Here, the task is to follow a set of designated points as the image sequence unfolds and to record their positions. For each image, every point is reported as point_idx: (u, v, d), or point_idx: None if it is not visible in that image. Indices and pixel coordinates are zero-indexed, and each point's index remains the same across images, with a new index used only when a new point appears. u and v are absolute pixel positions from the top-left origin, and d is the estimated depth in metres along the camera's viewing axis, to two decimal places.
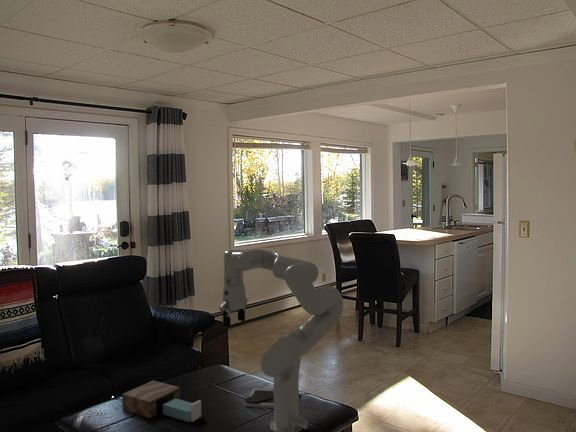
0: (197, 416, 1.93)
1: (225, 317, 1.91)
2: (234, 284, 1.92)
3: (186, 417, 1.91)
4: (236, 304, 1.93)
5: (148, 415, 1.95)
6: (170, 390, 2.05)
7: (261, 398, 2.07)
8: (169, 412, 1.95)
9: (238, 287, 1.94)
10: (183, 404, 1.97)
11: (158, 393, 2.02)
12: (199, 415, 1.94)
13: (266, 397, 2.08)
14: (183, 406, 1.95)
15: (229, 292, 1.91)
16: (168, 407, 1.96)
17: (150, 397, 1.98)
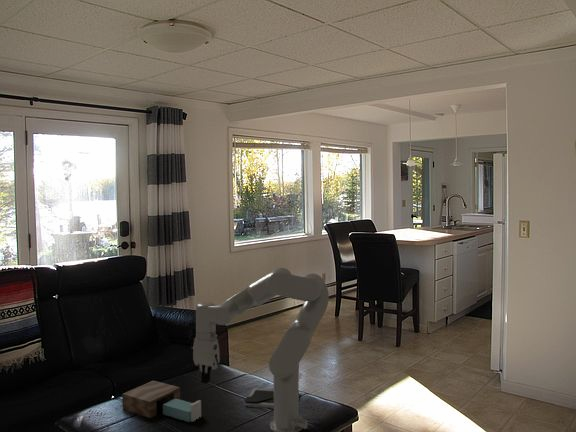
0: (197, 416, 1.93)
1: (209, 373, 1.88)
2: None
3: (186, 417, 1.91)
4: None
5: (148, 415, 1.95)
6: (170, 390, 2.05)
7: (261, 398, 2.07)
8: (169, 412, 1.95)
9: None
10: (183, 404, 1.97)
11: (158, 393, 2.02)
12: (199, 415, 1.94)
13: (266, 397, 2.08)
14: (183, 406, 1.95)
15: (217, 345, 1.87)
16: (168, 407, 1.96)
17: (150, 397, 1.98)
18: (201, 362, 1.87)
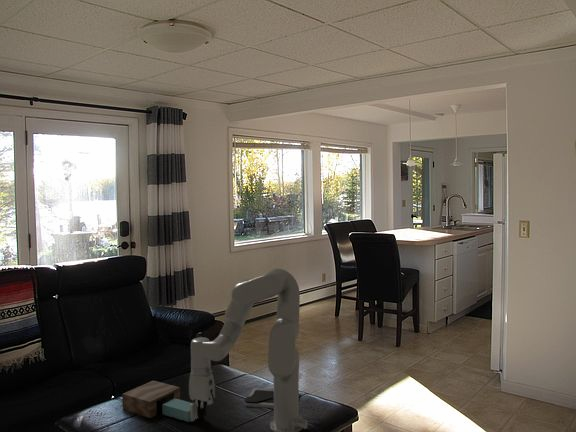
0: (197, 416, 1.93)
1: (204, 407, 1.90)
2: None
3: (186, 417, 1.91)
4: None
5: (148, 415, 1.95)
6: (170, 390, 2.05)
7: (261, 398, 2.07)
8: (169, 412, 1.95)
9: None
10: (183, 404, 1.97)
11: (158, 393, 2.02)
12: None
13: (266, 397, 2.08)
14: (183, 406, 1.95)
15: (212, 380, 1.89)
16: (168, 407, 1.96)
17: (150, 397, 1.98)
18: (197, 397, 1.89)
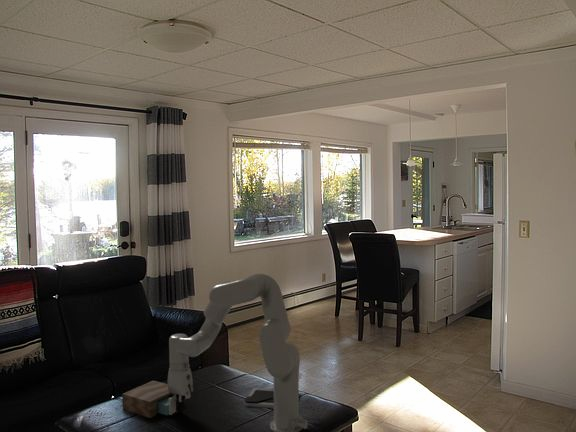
0: (175, 410, 1.99)
1: (183, 401, 1.96)
2: None
3: (165, 410, 1.97)
4: None
5: (148, 415, 1.95)
6: None
7: (261, 398, 2.07)
8: None
9: None
10: (162, 398, 2.03)
11: (158, 393, 2.02)
12: None
13: (266, 397, 2.08)
14: (162, 400, 2.01)
15: (190, 375, 1.95)
16: None
17: (150, 397, 1.98)
18: (175, 391, 1.95)
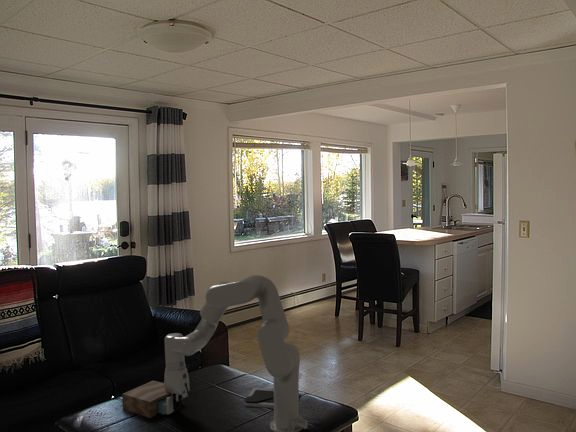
0: None
1: (180, 401, 1.97)
2: None
3: (162, 410, 1.97)
4: None
5: (148, 415, 1.95)
6: None
7: (261, 398, 2.07)
8: None
9: None
10: None
11: (158, 393, 2.02)
12: None
13: (266, 397, 2.08)
14: (160, 400, 2.01)
15: (187, 374, 1.96)
16: None
17: (150, 397, 1.98)
18: (172, 391, 1.96)
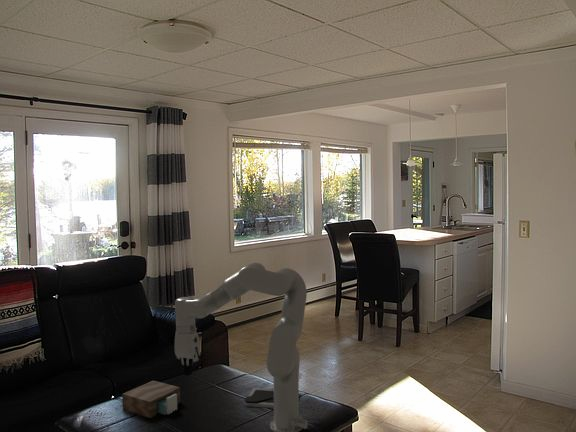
0: (173, 409, 2.00)
1: (190, 365, 1.94)
2: None
3: (162, 410, 1.97)
4: None
5: (148, 415, 1.95)
6: (170, 390, 2.05)
7: (261, 398, 2.07)
8: None
9: None
10: None
11: (158, 393, 2.02)
12: (175, 408, 2.01)
13: (266, 397, 2.08)
14: (160, 400, 2.01)
15: (197, 338, 1.93)
16: None
17: (150, 397, 1.98)
18: (182, 355, 1.92)
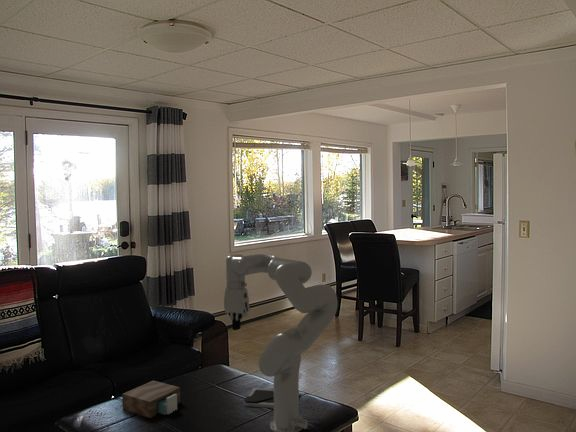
0: (173, 409, 2.00)
1: (239, 320, 2.00)
2: None
3: (162, 410, 1.97)
4: None
5: (148, 415, 1.95)
6: (170, 390, 2.05)
7: (260, 398, 2.07)
8: None
9: None
10: None
11: (158, 393, 2.02)
12: (175, 408, 2.01)
13: (266, 397, 2.08)
14: (160, 400, 2.01)
15: (247, 294, 1.99)
16: None
17: (150, 397, 1.98)
18: (232, 310, 1.99)
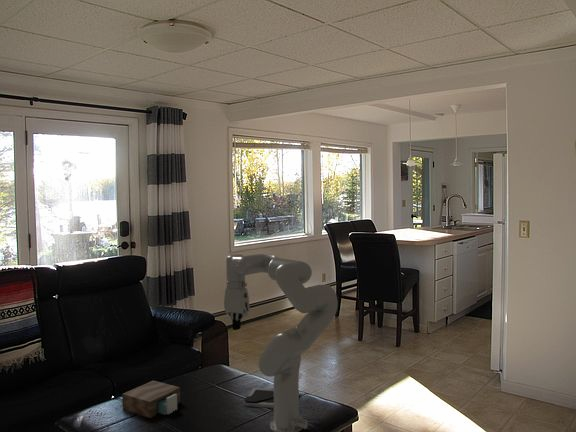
0: (173, 409, 2.00)
1: (239, 320, 2.00)
2: None
3: (162, 410, 1.97)
4: None
5: (148, 415, 1.95)
6: (170, 390, 2.05)
7: (260, 398, 2.07)
8: None
9: None
10: None
11: (158, 393, 2.02)
12: (175, 408, 2.01)
13: (266, 397, 2.08)
14: (160, 400, 2.01)
15: (247, 294, 1.99)
16: None
17: (150, 397, 1.98)
18: (232, 310, 1.99)
